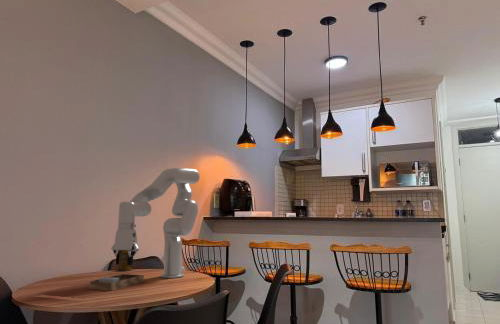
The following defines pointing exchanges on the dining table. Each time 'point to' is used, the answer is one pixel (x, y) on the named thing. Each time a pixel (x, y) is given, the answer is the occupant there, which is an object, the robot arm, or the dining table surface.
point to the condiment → (123, 262)
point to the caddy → (123, 282)
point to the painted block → (108, 279)
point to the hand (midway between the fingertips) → (124, 264)
